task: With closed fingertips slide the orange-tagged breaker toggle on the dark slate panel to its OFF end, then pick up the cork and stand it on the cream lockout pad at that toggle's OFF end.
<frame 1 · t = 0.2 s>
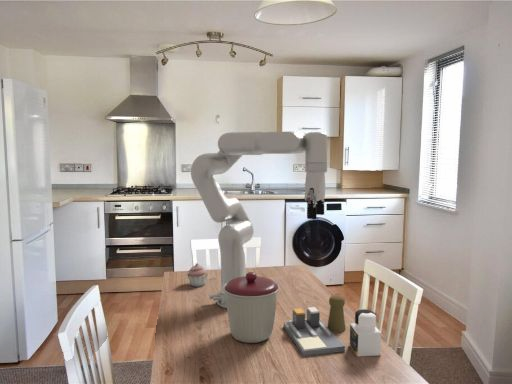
hand: (315, 216, 142), 36 cm above the table, tool pointing down, fingers open, 9 cm apart
canister: (251, 336, 130), on the table
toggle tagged: (298, 318, 133), point 4 cm above the table, slide at 0.0 cm
cupcake: (197, 285, 180), on the table
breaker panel: (312, 338, 129), on the table
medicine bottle: (364, 351, 121), on the table
cork: (336, 328, 136), on the table
toggle plain: (313, 316, 135), point 4 cm above the table, slide at 0.0 cm
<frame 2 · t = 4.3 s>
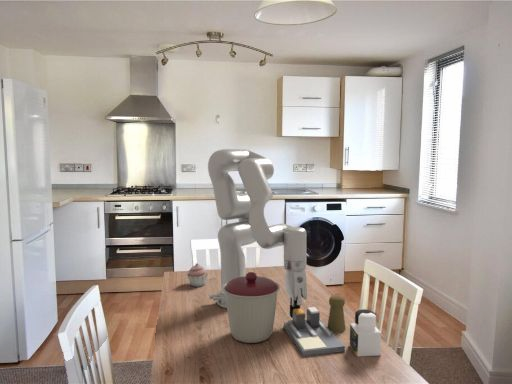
hand: (294, 316, 138), 3 cm above the table, tool pointing down, fingers closed
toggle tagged: (298, 318, 133), point 4 cm above the table, slide at 0.0 cm, touching gripper
everything else where it was.
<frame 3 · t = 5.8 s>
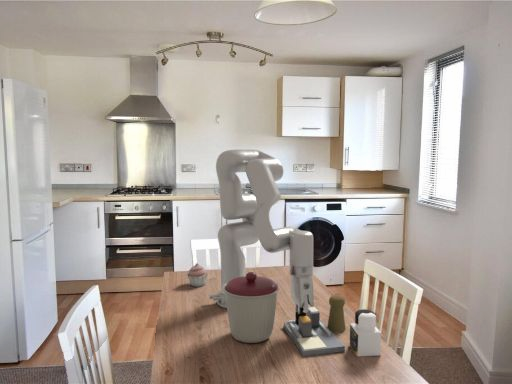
hand: (300, 324, 132), 3 cm above the table, tool pointing down, fingers closed
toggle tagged: (305, 326, 127), point 4 cm above the table, slide at 6.2 cm, touching gripper
everything else where it was.
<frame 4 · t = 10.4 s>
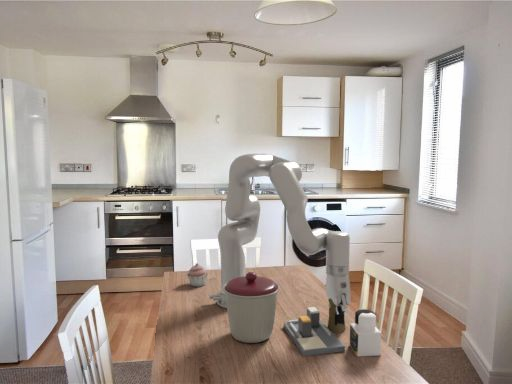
hand: (336, 321, 136), 2 cm above the table, tool pointing down, fingers closed on cork, 3 cm apart
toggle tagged: (304, 325, 128), point 4 cm above the table, slide at 6.0 cm
cork: (336, 328, 136), on the table, touching gripper
everything else where it was.
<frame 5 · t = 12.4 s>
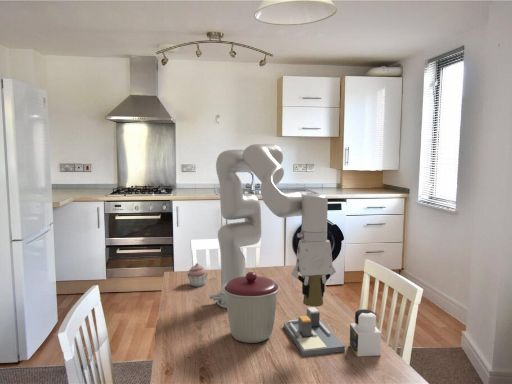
hand: (313, 295, 121), 16 cm above the table, tool pointing down, fingers closed on cork, 3 cm apart
cork: (313, 303, 122), point 14 cm above the table, touching gripper
everything else where it was.
when the fingers open (5 cm above the table, at t = 14.8 s): cork drops 1 cm, resting on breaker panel.
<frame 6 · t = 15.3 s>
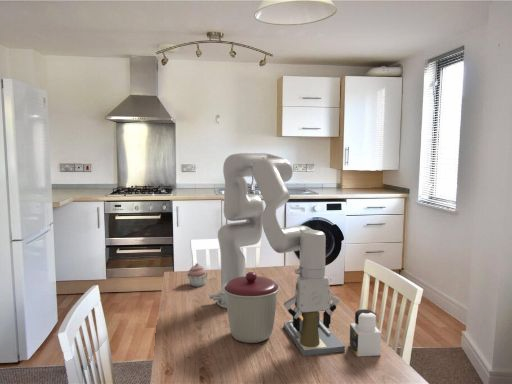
hand: (311, 327, 122), 6 cm above the table, tool pointing down, fingers open, 9 cm apart
cork: (309, 343, 122), point 2 cm above the table, touching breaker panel
everything else where it was.
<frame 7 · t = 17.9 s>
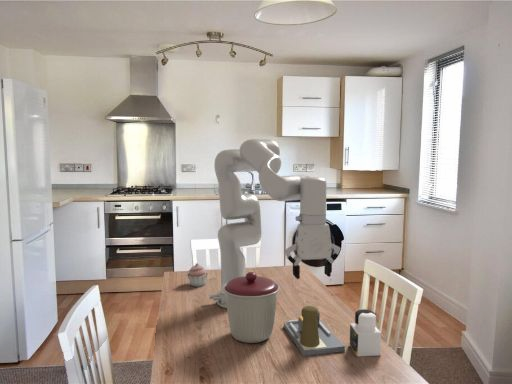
hand: (312, 276, 120), 22 cm above the table, tool pointing down, fingers open, 9 cm apart
nothing on the table moved.
at the end: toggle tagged slide at 6.0 cm; cork inside the target area (0.5 cm from its centre), point 1.5 cm above the table; cork tilted 0° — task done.
